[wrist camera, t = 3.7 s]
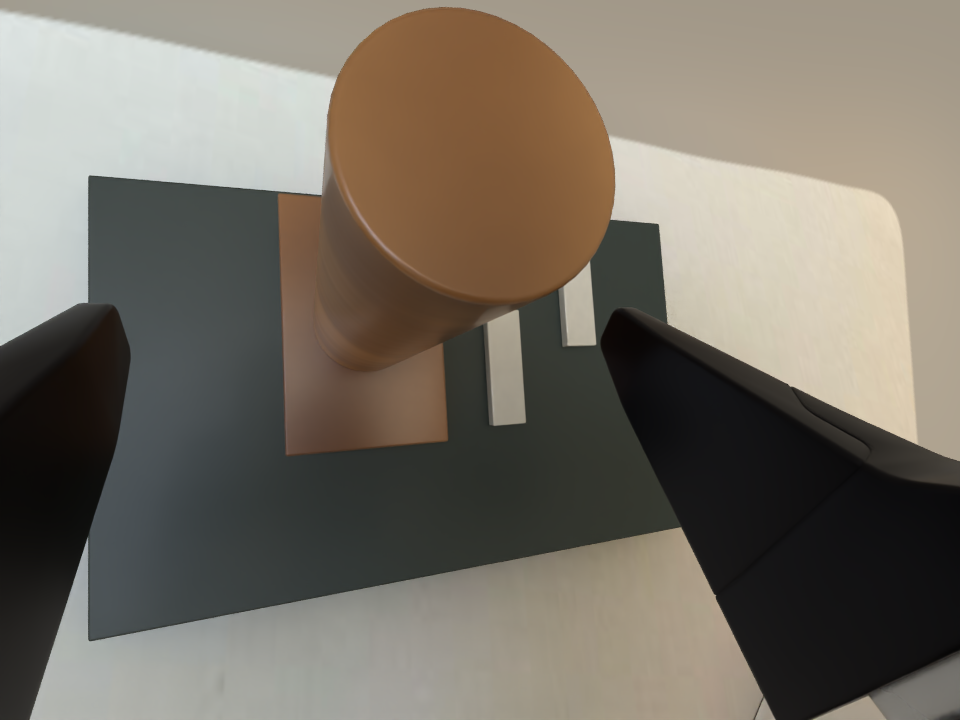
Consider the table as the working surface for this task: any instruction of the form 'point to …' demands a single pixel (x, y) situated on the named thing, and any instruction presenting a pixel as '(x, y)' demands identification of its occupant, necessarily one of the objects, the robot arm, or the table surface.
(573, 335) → the chalk streak
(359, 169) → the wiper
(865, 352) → the table surface
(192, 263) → the board
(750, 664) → the robot arm
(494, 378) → the chalk streak
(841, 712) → the foam cup
